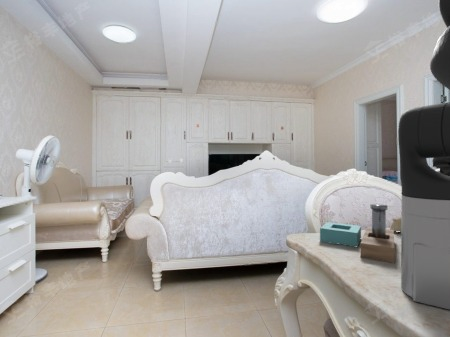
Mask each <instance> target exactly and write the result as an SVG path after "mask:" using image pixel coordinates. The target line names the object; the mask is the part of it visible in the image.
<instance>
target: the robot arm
mask: <svg viewBox="0 0 450 337" xmlns="http://www.w3.org/2000/svg"><path fill="white" fill-rule="evenodd" d="M438 10H439V13H440V16H441V18H442V20H443V23H444V25H445V26H446V29H444V31H443V33H442V34H441V35H440V36H439V38H438V39H437V42H436V44H435V46H434V49H433V52H432V55H431V59H430V63H429V69H430V73H431V74H432V76H433V77H434V79H435V80H437V82H438V83H440V84H441V85H442V86H444V87H445V88H446V89H448V90H449V91H450V0H438ZM398 122H399V123H398V131H397V132H398V133H397V135H398V137H397V138H398V150H399V152H398V153H399V176H400V184H401V186H400V187H401V193H400V194H401V216H400V217H401V233H400V234H401V236H400V239H401V240H400V242H401V245H400V246H401V249H400V250H401V252H400V253H401V254H400V259H401V262H400V266H401V268H400V271H401V273H400V274H401V276H400V277H401V280H400V282H401V285H400V287H401V290H402V291H403V292H404V293H405V294H406V295H407V296H409V297H411V298H412V300H413V301H412V302H416V303H421V304H424V305H429V306H434V307H437V308H442V309H446V310H450V102H442V103H436V104H430V105H422V106H417V107H413V108H408V109H406V110H404V112H402V114H401V115H400V118H399V121H398ZM427 159H432V161H431V162H432V167H431V166H430V165H429V164H428V160H427Z"/></svg>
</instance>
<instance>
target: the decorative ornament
mask: <svg viewBox="0 0 450 337" xmlns="http://www.w3.org/2000/svg"><path fill="white" fill-rule="evenodd" d="M391 219H392V223H391V224H390V226H389V230H394V231H400V232H401V216H398V217H397V218H394V217H392V218H391Z"/></svg>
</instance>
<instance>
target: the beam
mask: <svg viewBox="0 0 450 337" xmlns="http://www.w3.org/2000/svg"><path fill="white" fill-rule="evenodd" d="M365 228H366V229H365V231H364V234H363V235H362V237H361V240H360V258H363V257H364V258H365V259H370V260H375V261H381V262H388V263H392V264H395V249H396V247H395V232H394V230H390V228H389V229H388V228H386V239H381V238H374V237H372V226H367V227H365Z"/></svg>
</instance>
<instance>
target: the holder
mask: <svg viewBox="0 0 450 337" xmlns="http://www.w3.org/2000/svg"><path fill="white" fill-rule="evenodd" d="M360 238H361V239H362V226H361V225H357V224H356V225H355V224H348V223H337V222H331V221H327V222H325V223H324V224H323V225H322V226H321V227H320V228H319V241H320V242H321V241H325V242H324V243H327V242H331V243H330V244H334V243H339V244H338V245H340V244H346V245H351V246H350V247H352V246H358V247H359V245H360V242H361V240H360ZM359 241H360V242H359ZM358 244H359V245H358ZM346 245H345V246H346Z"/></svg>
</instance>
